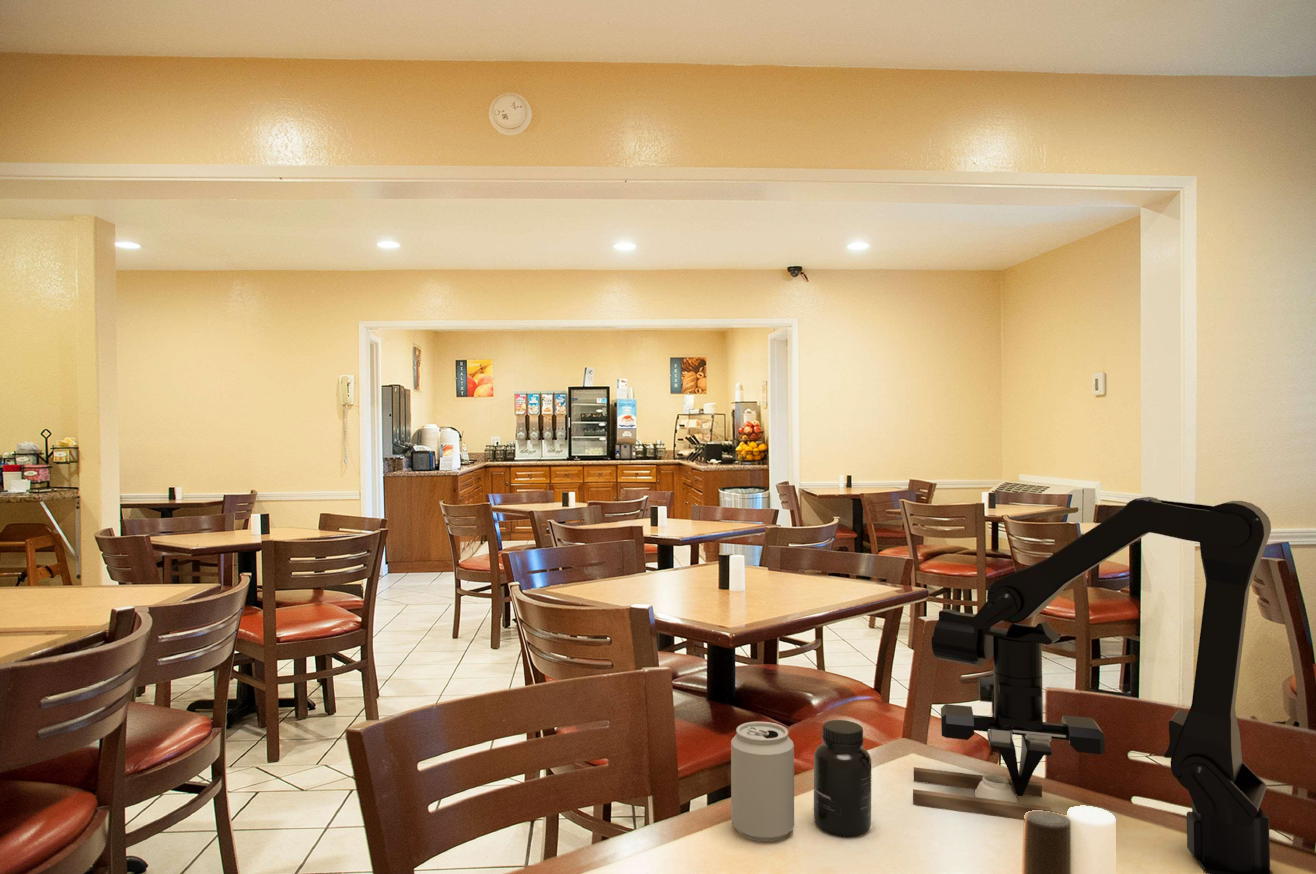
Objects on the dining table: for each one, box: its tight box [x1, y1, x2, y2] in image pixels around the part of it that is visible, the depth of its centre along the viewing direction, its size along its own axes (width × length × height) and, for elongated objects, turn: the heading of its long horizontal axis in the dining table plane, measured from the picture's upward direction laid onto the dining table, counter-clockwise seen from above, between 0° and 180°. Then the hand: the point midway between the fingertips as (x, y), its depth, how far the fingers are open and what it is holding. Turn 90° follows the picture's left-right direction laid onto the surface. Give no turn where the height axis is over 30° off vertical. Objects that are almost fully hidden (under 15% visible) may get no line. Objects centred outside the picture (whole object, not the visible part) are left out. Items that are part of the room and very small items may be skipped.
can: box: [730, 721, 795, 842], centre depth 94 cm, size 8×8×12 cm
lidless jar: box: [974, 773, 1018, 803], centre depth 101 cm, size 5×3×5 cm
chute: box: [912, 766, 1052, 821], centre depth 102 cm, size 16×9×2 cm, turn 71°
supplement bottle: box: [813, 719, 872, 839], centre depth 95 cm, size 7×7×12 cm
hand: (1019, 795), depth 101 cm, fingers closed
